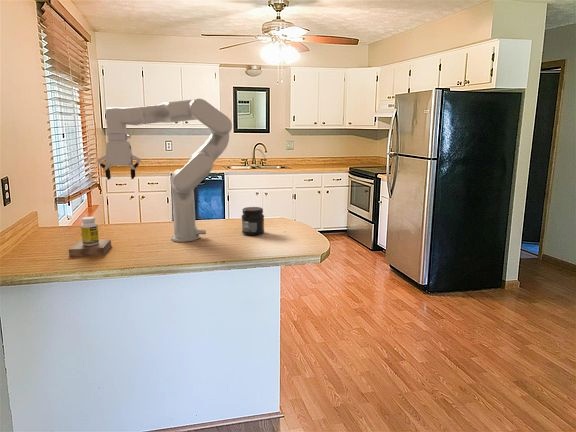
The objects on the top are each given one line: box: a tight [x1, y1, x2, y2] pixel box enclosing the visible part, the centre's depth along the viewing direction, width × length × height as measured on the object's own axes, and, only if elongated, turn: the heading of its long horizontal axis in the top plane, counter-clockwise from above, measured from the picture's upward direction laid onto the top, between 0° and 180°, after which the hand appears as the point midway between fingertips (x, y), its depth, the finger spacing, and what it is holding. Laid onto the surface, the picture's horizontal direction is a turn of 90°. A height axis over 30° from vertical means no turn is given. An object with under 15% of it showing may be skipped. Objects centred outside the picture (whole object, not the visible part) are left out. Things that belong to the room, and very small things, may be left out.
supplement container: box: [241, 206, 265, 237], centre depth 212 cm, size 10×10×12 cm
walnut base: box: [68, 239, 112, 258], centre depth 185 cm, size 13×13×3 cm
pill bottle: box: [80, 216, 100, 246], centre depth 184 cm, size 6×6×11 cm
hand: (120, 178), depth 191 cm, fingers open, 9 cm apart
